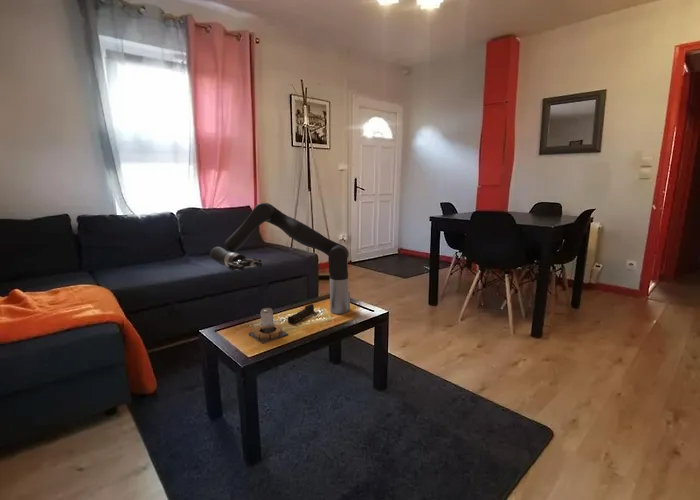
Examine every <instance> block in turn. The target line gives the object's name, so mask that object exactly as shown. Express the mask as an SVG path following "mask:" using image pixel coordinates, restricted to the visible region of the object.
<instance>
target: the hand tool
mask: <svg viewBox="0 0 700 500" xmlns="http://www.w3.org/2000/svg"><path fill="white" fill-rule="evenodd" d="M314 312H315V306H314V304H313V303H310V304H308V305H306V306H304V309H302V310H299V311H298V312H296V313H294V314H293V315H290V316H288V317H287V323H288V324H289V323H290V325H295V324H296V323H297V322H298V321H300V320H302V319H303V318H306V317H308V316H311V315H312V314H313V313H314ZM310 314H311V315H310Z"/></svg>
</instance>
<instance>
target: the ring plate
mask: <svg viewBox="0 0 700 500" xmlns="http://www.w3.org/2000/svg"><path fill="white" fill-rule="evenodd" d="M248 335H249V336H250V337H252V338H253V339H255V340H257V341H258V342H260V343H261V344H265V343H268V342H271V341H274V340H278V339H281V338H284V337H287V336H289V333H287V332H286V331H283V328H282V327H281V326H280V325H278V324H274V332H271V333H262V325H260V326H257V327H256V328H255V329H254V331H252V332H250V333H248Z"/></svg>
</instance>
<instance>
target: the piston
mask: <svg viewBox="0 0 700 500" xmlns="http://www.w3.org/2000/svg"><path fill="white" fill-rule="evenodd" d="M273 310H274V309H272V308H271V307H265V308H262V309H261V310H260V323H261V325H260V326H262V333H271V332H274V325H275V324H274V312H273Z"/></svg>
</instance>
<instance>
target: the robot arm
mask: <svg viewBox="0 0 700 500" xmlns="http://www.w3.org/2000/svg"><path fill="white" fill-rule="evenodd" d="M266 222H267V223H269V224H271V225H273V226H275V227H277V228H279V229H280V230H281V231H282V232H284V233H285V234H286V235H287V236H288V237H289V238H291V239H292V240H293V241H295V242H297V243H299V244H300V245H303V246H306V247H307V248H312V249H314V250H317V251H320V252H322V253H324V254H325V255H326V256H328V258H327V259H328V260H327V261H328V262H327V263H328V274H329V303H330V304H329V306H330V308H329V310H330V313H332V314H336V315H341V314H347V313H349V311H351V292H350V291H349V272H348V269H349V268H348V259H349V255H350V253H349V249H348V248H347V247H346V246H344V245H342V244H341V243H338V242H336V241H333V240H331V239H329V238H327V237H326V236H324V235H323V234H321V233H320V232H318V231H316V230H315V229H313V228H311V227H310V226H309V225H307V224H304V223H303V222H302V221H299V220H297V219H295V218H293V217H291V216H289V215H287V214H285V213H284V212H282V211H281V210H279V209H278V208H277V207H276V206H274V205H272V204H271V203H268V202H260V203H258V204H256V205H255V206H254V208H253V209H252V211H251V212H250V214H249V215H248V216H247V218H245V220H244V221H243V223H242V224H241V225H239V227H238V228H237V229H236V230H235V231H234V232H233V233H232V234H231V235H230V236H229V237H228V238H227V239H226V240H225V241H224V246H225V247H226V248H227V249H228V250H226V249H225V248H223V247H221V246H214V247H213V248H212V249H211V250H210V251H209V252H210V253H209V257H210V258H211V259H212V261H215V262H216V263H218V264H220V265H221V266H226V268H227V269H229V270H231V271H241V272H244V270H245V268H246V269H247V268H254V267H256V268H257V267H258V268H262V267H263V263H262V259H258V258H255V257H254V258H252V259H251V258H247V257H246V256H245V255H244V254H241V253H238V252H237V251H238V250H239V249H240V248H241V247H242V246H243V244H245V243H246V242H247V240H248V239H249V237H250V236H251V235H252V233H253V232H254V231H255V230H256V228H258V227H259V226H260V225H262V224H264V223H266Z"/></svg>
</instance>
